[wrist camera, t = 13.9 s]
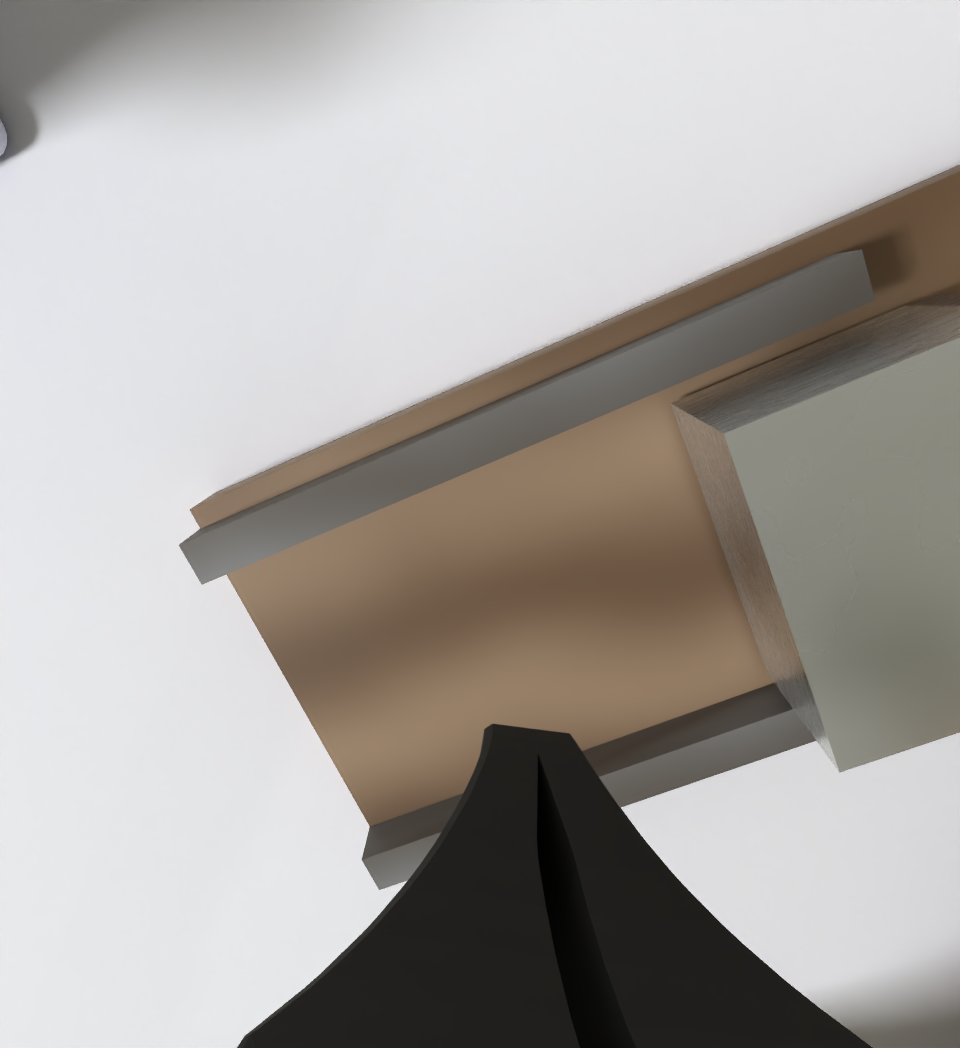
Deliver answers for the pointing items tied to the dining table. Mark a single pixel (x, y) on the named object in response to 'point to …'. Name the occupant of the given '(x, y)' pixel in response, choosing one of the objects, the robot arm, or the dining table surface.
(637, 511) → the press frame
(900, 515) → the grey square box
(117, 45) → the dining table surface
